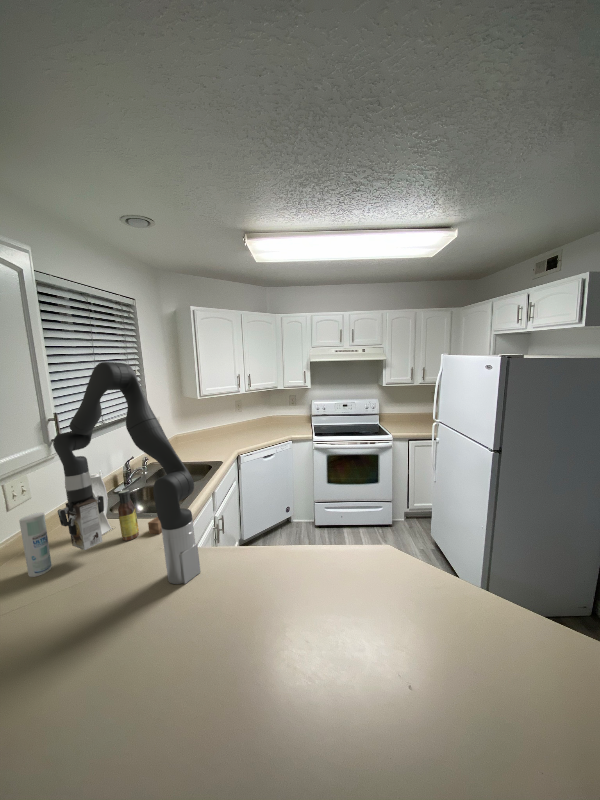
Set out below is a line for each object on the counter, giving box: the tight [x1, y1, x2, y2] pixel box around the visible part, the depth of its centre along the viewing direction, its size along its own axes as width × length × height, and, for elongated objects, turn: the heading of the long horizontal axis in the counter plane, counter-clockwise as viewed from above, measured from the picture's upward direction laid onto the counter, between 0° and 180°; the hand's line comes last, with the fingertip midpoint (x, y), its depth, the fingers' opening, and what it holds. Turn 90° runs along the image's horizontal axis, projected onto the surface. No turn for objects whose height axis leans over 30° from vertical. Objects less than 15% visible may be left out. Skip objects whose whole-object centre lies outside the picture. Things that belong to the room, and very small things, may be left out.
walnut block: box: [147, 516, 162, 535], centre depth 126 cm, size 5×5×5 cm
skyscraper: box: [90, 469, 114, 536], centre depth 129 cm, size 8×8×28 cm
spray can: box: [19, 512, 52, 578], centre depth 103 cm, size 6×6×20 cm
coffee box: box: [65, 499, 104, 551], centre depth 107 cm, size 9×6×16 cm
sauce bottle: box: [117, 489, 140, 542], centre depth 122 cm, size 7×6×20 cm
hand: (85, 529), depth 108 cm, fingers closed on coffee box, 6 cm apart
